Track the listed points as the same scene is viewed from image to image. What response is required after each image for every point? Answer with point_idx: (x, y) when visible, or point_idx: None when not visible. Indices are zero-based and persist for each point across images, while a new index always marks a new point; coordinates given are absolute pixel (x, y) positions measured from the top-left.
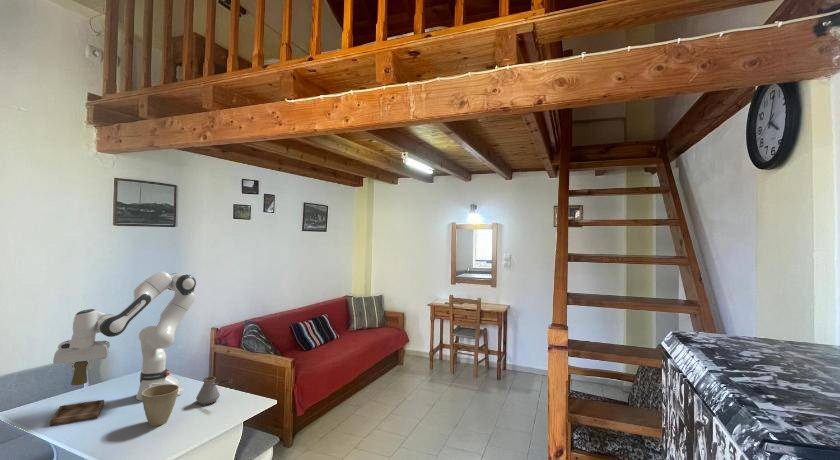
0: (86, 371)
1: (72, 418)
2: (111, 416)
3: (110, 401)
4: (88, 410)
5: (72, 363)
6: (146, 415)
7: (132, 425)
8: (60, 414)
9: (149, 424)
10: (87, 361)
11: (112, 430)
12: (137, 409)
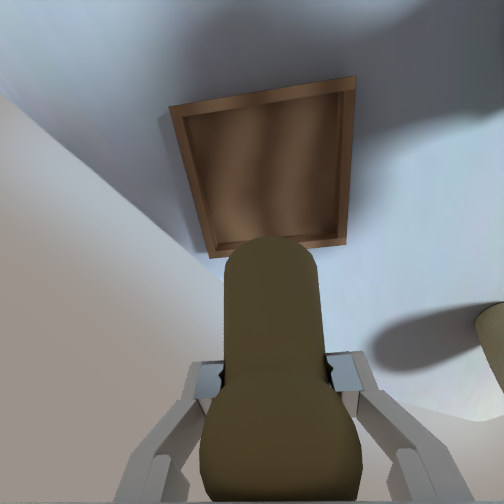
0: (323, 340)
1: None
2: (382, 231)
3: (375, 14)
4: (298, 161)
5: (182, 484)
6: (487, 360)
7: (434, 313)
8: (204, 170)
9: (475, 328)
10: (360, 479)
11: (385, 323)
12: (474, 195)
